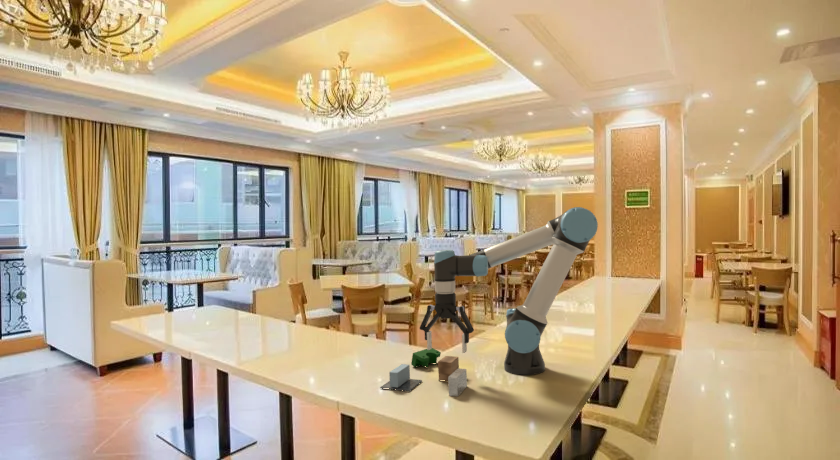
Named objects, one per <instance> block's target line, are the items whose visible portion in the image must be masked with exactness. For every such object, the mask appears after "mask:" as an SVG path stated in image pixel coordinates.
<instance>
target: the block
mask: <svg viewBox="0 0 840 460" xmlns="http://www.w3.org/2000/svg"><path fill="white" fill-rule="evenodd" d="M459 360H460V359H459V356H451V355H445V356H444V357H442V358H441V359H439V361H438V360H437V364H438V365H437V366H438V367H437V368H438V369H437V370H438V381H439V380H445V381H448V377H449V376H450V375H451V374H452V373H453V372H454V371H456V370H457V369H458V368H460V367H459V366H460V365H459V364H460V363H459Z"/></svg>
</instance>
